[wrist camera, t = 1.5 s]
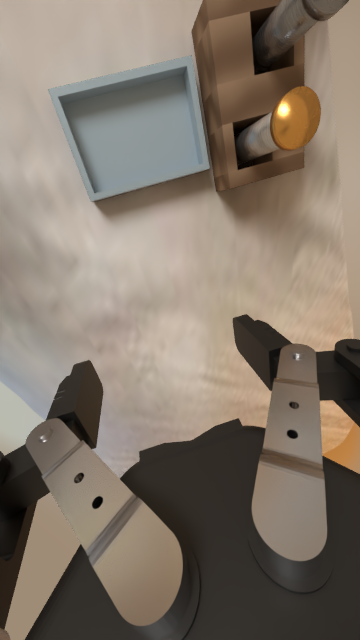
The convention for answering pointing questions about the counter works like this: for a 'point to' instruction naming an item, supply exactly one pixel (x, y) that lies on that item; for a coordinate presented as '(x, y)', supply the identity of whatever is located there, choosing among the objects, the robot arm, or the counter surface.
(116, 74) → the tray
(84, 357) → the counter surface
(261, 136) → the pin
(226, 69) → the wooden socket block
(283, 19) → the pin
